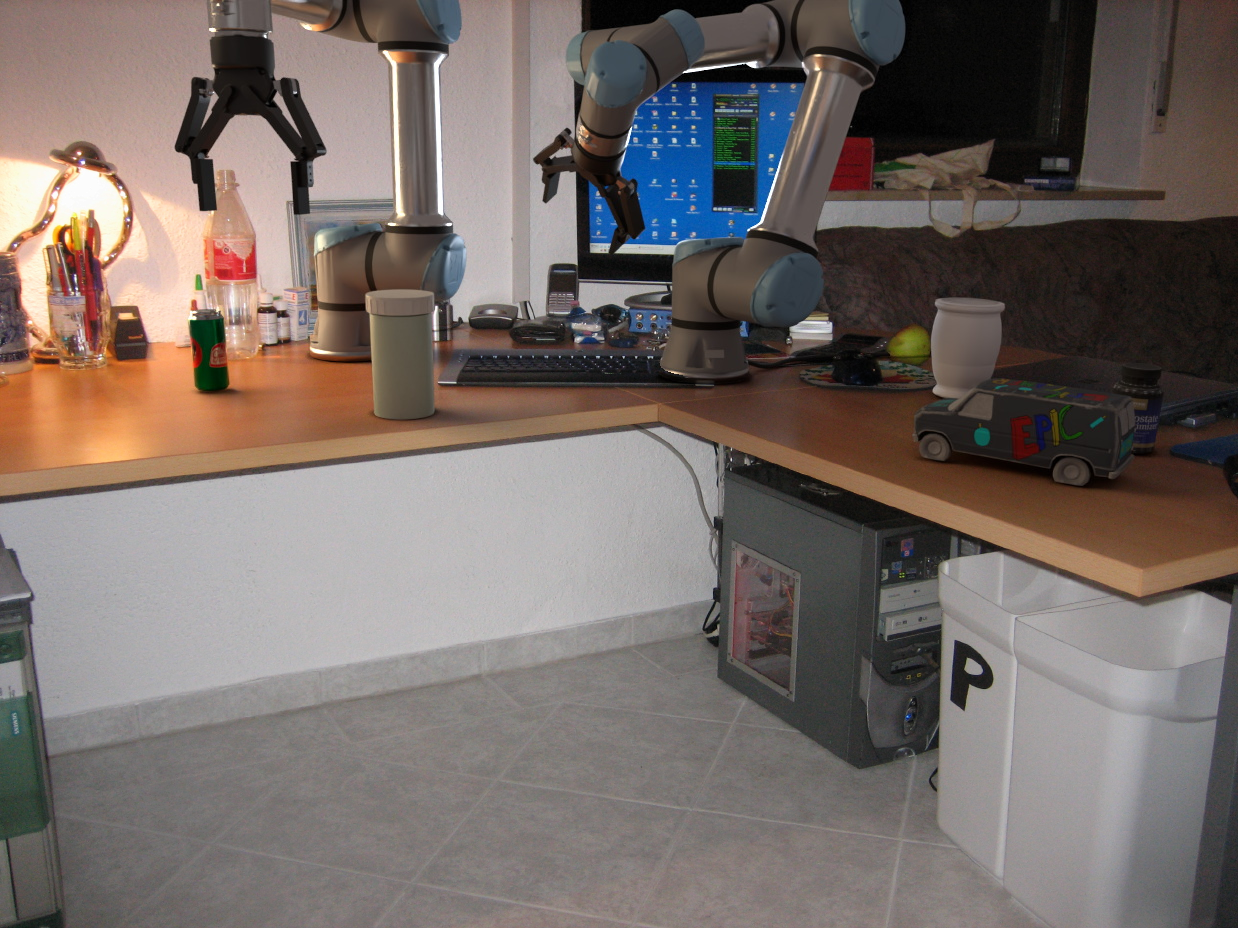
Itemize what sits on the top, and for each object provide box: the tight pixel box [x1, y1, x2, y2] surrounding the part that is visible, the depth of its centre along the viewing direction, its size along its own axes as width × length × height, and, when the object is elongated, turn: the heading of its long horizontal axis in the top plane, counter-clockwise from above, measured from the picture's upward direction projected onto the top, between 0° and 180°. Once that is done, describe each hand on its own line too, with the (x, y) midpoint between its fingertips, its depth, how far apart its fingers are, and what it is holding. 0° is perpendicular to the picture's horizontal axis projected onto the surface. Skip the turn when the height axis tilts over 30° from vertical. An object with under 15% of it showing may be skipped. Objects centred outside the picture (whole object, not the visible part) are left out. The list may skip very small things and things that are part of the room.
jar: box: [930, 297, 1006, 399], centre depth 168 cm, size 11×10×15 cm
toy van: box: [911, 377, 1136, 487], centre depth 131 cm, size 11×25×10 cm, turn 54°
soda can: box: [187, 308, 231, 393], centre depth 163 cm, size 5×5×12 cm
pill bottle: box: [1111, 362, 1165, 455], centre depth 139 cm, size 6×6×11 cm
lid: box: [365, 289, 436, 316], centre depth 149 cm, size 9×9×2 cm
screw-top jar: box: [370, 312, 436, 421], centre depth 151 cm, size 8×8×16 cm
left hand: (254, 213), depth 138 cm, fingers open, 13 cm apart
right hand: (582, 223), depth 169 cm, fingers open, 13 cm apart
